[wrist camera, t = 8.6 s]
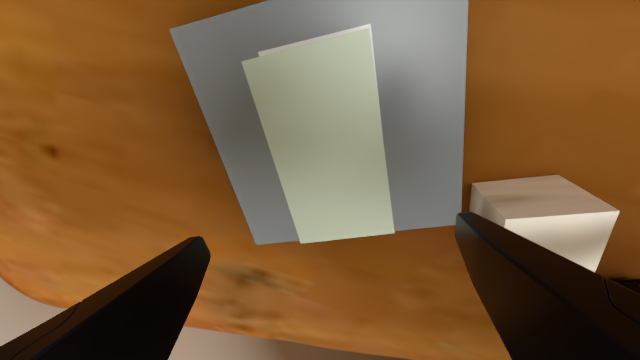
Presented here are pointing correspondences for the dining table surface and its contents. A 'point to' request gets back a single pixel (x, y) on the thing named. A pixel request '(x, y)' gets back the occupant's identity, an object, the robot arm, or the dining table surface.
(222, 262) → the dining table surface
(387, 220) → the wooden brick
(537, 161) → the dining table surface
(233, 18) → the baseplate
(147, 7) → the dining table surface
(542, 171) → the dining table surface
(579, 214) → the cream cube
